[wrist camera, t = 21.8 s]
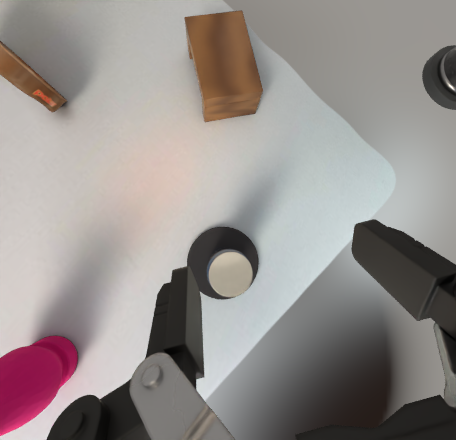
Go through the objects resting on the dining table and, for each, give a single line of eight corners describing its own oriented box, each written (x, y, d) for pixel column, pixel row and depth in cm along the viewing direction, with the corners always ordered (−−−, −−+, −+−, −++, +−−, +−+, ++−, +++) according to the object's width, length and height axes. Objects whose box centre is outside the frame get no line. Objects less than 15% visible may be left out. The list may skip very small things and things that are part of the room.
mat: (248, 220, 31) (249, 219, 30) (264, 288, 30) (265, 289, 29) (180, 235, 30) (180, 235, 29) (195, 306, 29) (195, 307, 28)
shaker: (235, 243, 30) (248, 244, 19) (242, 274, 29) (260, 292, 19) (204, 251, 29) (201, 256, 19) (211, 282, 29) (212, 305, 19)
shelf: (237, 44, 34) (242, 10, 29) (255, 113, 33) (263, 90, 28) (188, 50, 33) (184, 16, 28) (204, 122, 32) (203, 100, 27)
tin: (79, 111, 30) (30, 62, 22) (63, 126, 30) (6, 82, 22) (3, 42, 31) (-75, -32, 22) (-15, 56, 30) (-101, -15, 22)
